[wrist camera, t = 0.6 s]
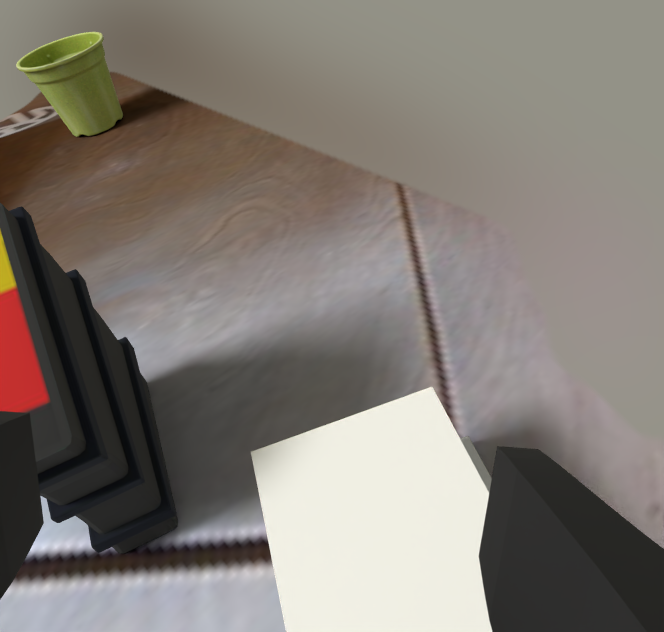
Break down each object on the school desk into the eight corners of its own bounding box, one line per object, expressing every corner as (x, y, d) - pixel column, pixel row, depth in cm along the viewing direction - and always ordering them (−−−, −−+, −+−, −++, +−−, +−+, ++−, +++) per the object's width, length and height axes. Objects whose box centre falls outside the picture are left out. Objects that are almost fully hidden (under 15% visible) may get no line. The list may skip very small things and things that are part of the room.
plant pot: (53, 129, 71) (11, 56, 65) (126, 98, 73) (92, 25, 67) (66, 154, 64) (21, 76, 58) (146, 120, 66) (110, 41, 61)
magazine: (133, 328, 37) (6, 188, 24) (208, 528, 33) (102, 500, 19) (76, 353, 37) (-88, 225, 23) (143, 560, 32) (-15, 555, 18)
